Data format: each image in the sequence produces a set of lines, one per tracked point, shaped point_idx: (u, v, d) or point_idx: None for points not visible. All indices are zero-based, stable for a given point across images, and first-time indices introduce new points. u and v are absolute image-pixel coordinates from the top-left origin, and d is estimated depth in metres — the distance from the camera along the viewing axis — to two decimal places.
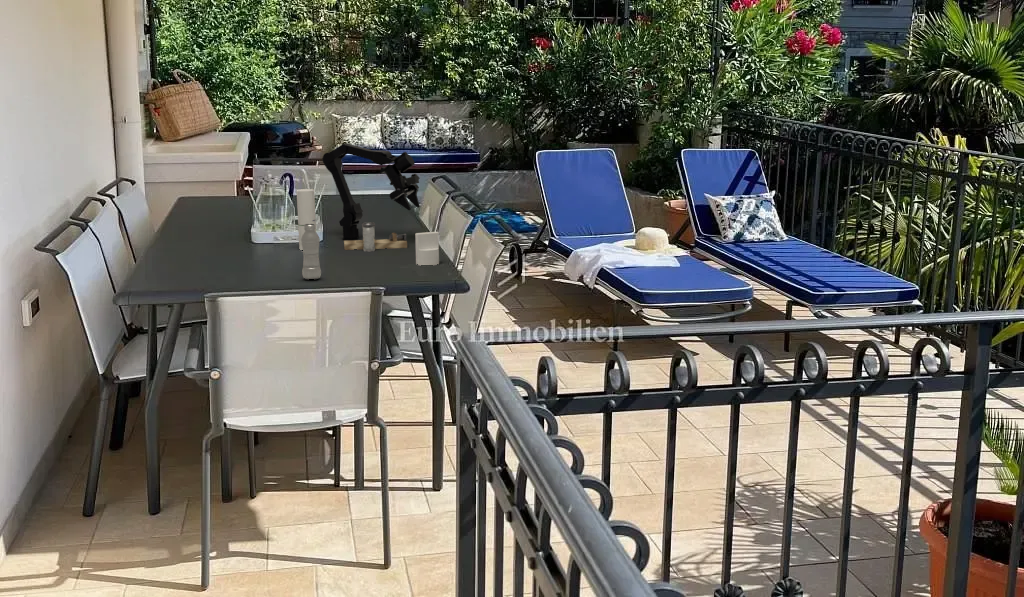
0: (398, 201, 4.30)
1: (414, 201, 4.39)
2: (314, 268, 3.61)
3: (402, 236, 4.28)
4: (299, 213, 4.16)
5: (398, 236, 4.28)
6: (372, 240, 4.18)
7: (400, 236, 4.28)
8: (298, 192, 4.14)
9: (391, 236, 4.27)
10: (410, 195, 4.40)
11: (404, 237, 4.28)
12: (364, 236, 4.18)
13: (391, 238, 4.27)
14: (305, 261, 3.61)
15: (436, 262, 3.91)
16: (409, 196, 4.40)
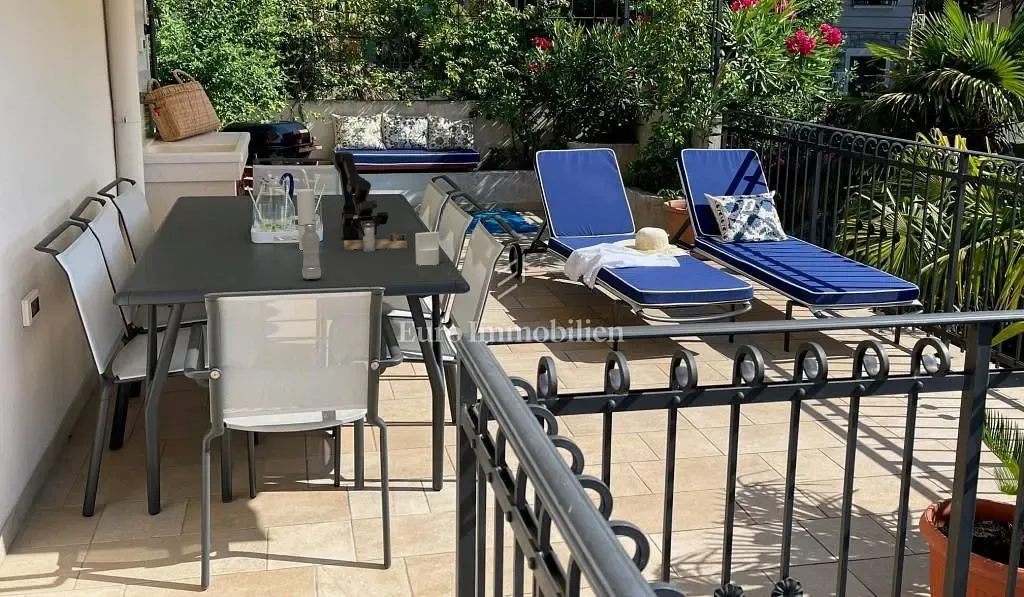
0: (355, 227, 4.20)
1: (374, 229, 4.20)
2: (314, 268, 3.61)
3: (402, 236, 4.28)
4: (299, 213, 4.16)
5: (398, 236, 4.28)
6: (372, 240, 4.18)
7: (400, 236, 4.28)
8: (298, 192, 4.14)
9: (391, 236, 4.27)
10: None
11: (404, 237, 4.28)
12: (364, 236, 4.18)
13: (391, 238, 4.27)
14: (305, 261, 3.61)
15: (436, 262, 3.91)
16: None
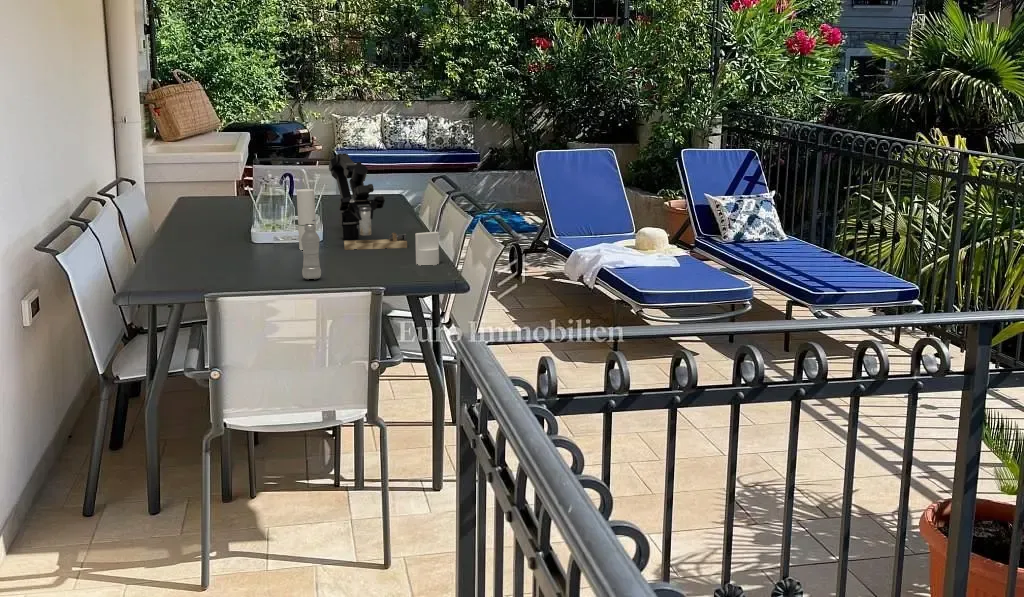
0: (352, 211, 4.23)
1: None
2: (314, 268, 3.61)
3: (402, 236, 4.28)
4: (299, 213, 4.16)
5: (398, 236, 4.28)
6: (368, 224, 4.21)
7: (400, 236, 4.28)
8: (298, 192, 4.14)
9: (391, 236, 4.27)
10: None
11: (404, 237, 4.28)
12: (360, 220, 4.20)
13: (391, 238, 4.27)
14: (305, 261, 3.61)
15: (436, 262, 3.91)
16: None
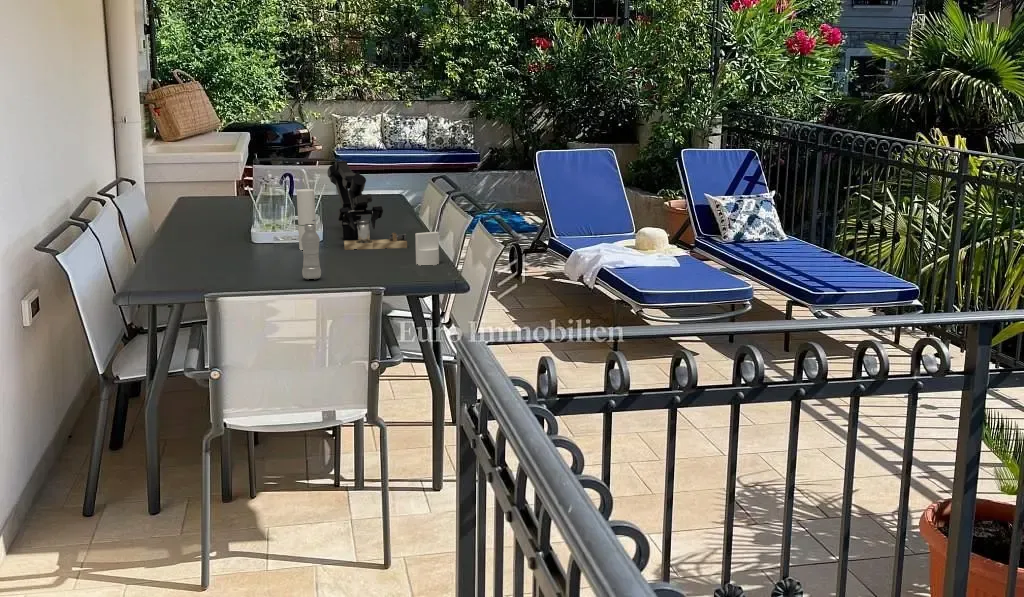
0: (347, 222, 4.26)
1: (372, 223, 4.27)
2: (314, 268, 3.61)
3: (402, 236, 4.28)
4: (299, 213, 4.16)
5: (398, 236, 4.28)
6: (367, 237, 4.25)
7: (400, 236, 4.28)
8: (298, 192, 4.14)
9: (391, 236, 4.27)
10: (371, 217, 4.30)
11: (404, 237, 4.28)
12: (359, 233, 4.24)
13: (391, 238, 4.27)
14: (305, 261, 3.61)
15: (436, 262, 3.91)
16: (371, 218, 4.30)
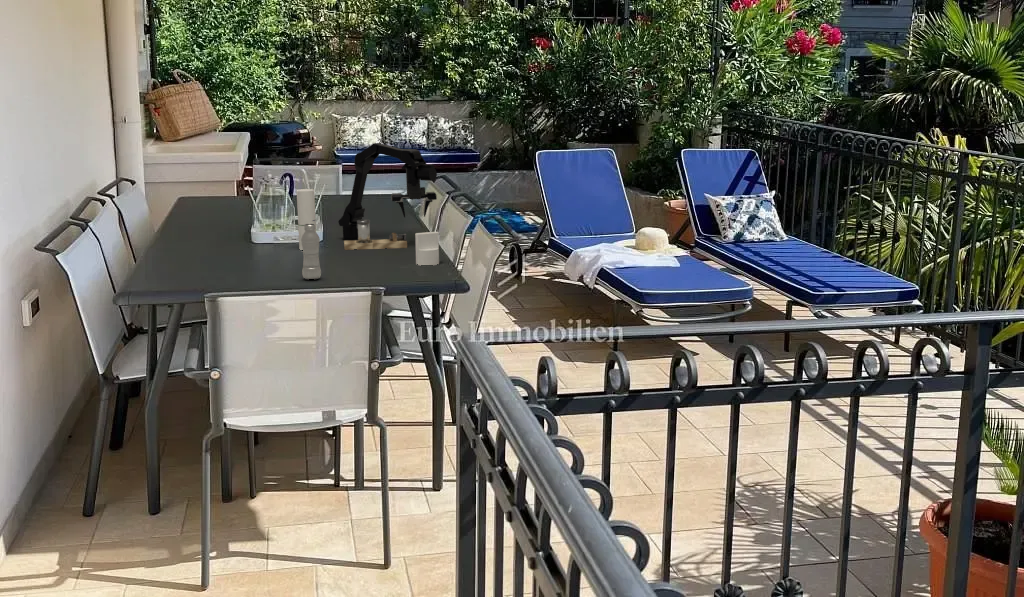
0: None
1: (424, 209, 4.28)
2: (314, 268, 3.61)
3: (402, 236, 4.28)
4: (299, 213, 4.16)
5: (398, 236, 4.28)
6: (367, 237, 4.25)
7: (400, 236, 4.28)
8: (298, 192, 4.14)
9: (391, 236, 4.27)
10: None
11: (404, 237, 4.28)
12: (359, 233, 4.24)
13: (391, 238, 4.27)
14: (305, 261, 3.61)
15: (436, 262, 3.91)
16: (424, 201, 4.29)
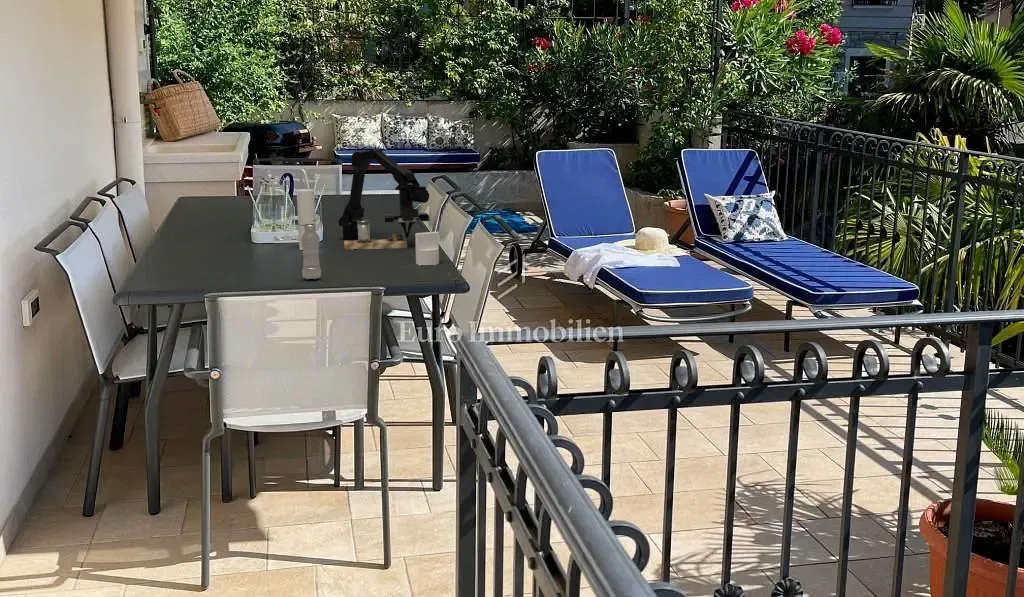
0: None
1: (407, 231, 4.29)
2: (314, 268, 3.61)
3: (400, 236, 4.28)
4: (299, 213, 4.16)
5: None
6: (367, 237, 4.25)
7: (398, 236, 4.28)
8: (298, 192, 4.14)
9: (389, 236, 4.27)
10: None
11: (402, 237, 4.28)
12: (359, 233, 4.24)
13: (389, 238, 4.27)
14: (305, 261, 3.61)
15: (436, 262, 3.91)
16: None
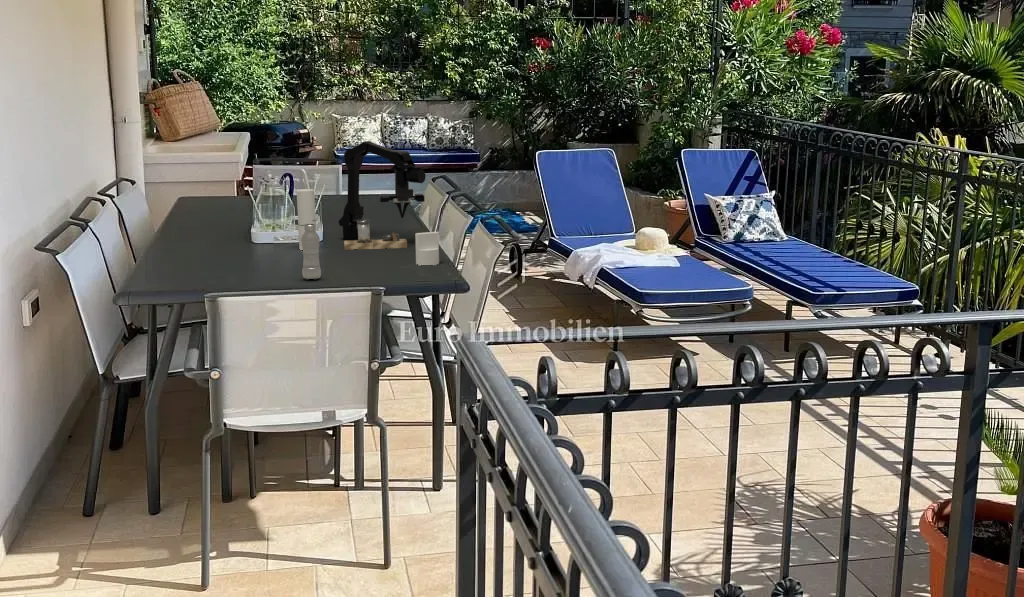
0: None
1: (402, 211, 4.32)
2: (314, 268, 3.61)
3: None
4: (299, 213, 4.16)
5: (391, 236, 4.27)
6: (367, 237, 4.25)
7: None
8: (298, 192, 4.14)
9: (384, 236, 4.27)
10: (403, 203, 4.31)
11: (397, 237, 4.28)
12: (359, 233, 4.24)
13: (384, 238, 4.27)
14: (305, 261, 3.61)
15: (436, 262, 3.91)
16: (403, 203, 4.32)
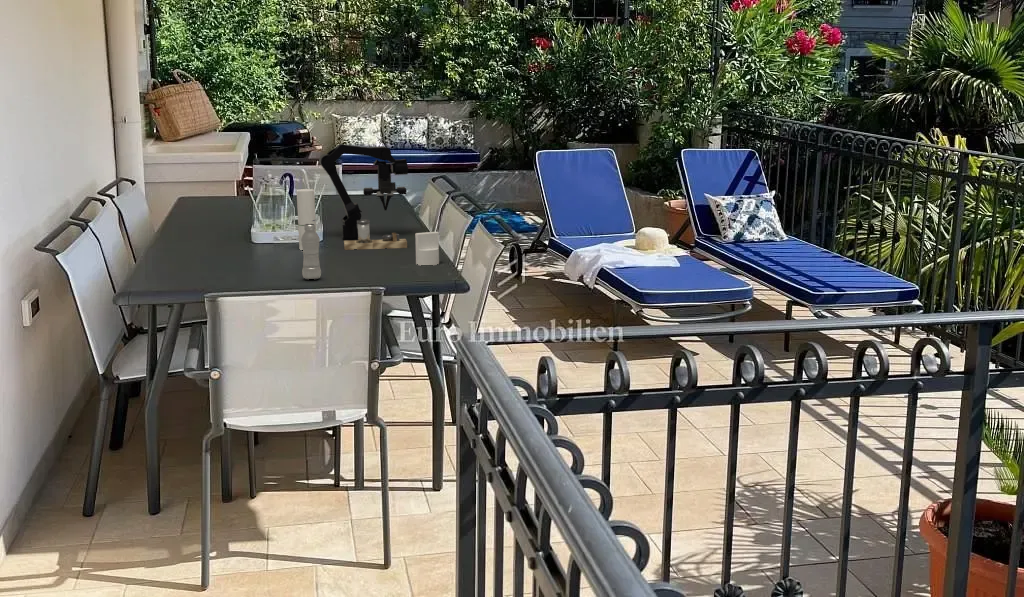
0: None
1: (385, 204, 4.50)
2: (314, 268, 3.61)
3: None
4: (299, 213, 4.16)
5: (391, 236, 4.27)
6: (367, 237, 4.25)
7: None
8: (298, 192, 4.14)
9: (384, 236, 4.27)
10: (386, 196, 4.50)
11: (397, 237, 4.28)
12: (359, 233, 4.24)
13: (384, 238, 4.27)
14: (305, 261, 3.61)
15: (436, 262, 3.91)
16: (386, 196, 4.50)
